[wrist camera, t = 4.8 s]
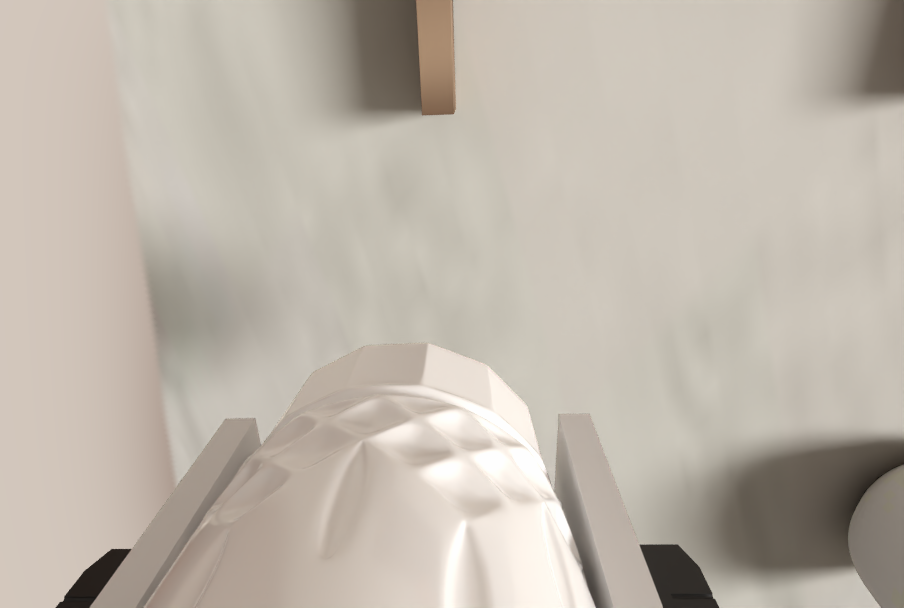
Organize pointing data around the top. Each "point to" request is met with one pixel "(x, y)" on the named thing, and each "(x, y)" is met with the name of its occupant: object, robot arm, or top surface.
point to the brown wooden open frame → (436, 56)
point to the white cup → (388, 499)
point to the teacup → (881, 539)
